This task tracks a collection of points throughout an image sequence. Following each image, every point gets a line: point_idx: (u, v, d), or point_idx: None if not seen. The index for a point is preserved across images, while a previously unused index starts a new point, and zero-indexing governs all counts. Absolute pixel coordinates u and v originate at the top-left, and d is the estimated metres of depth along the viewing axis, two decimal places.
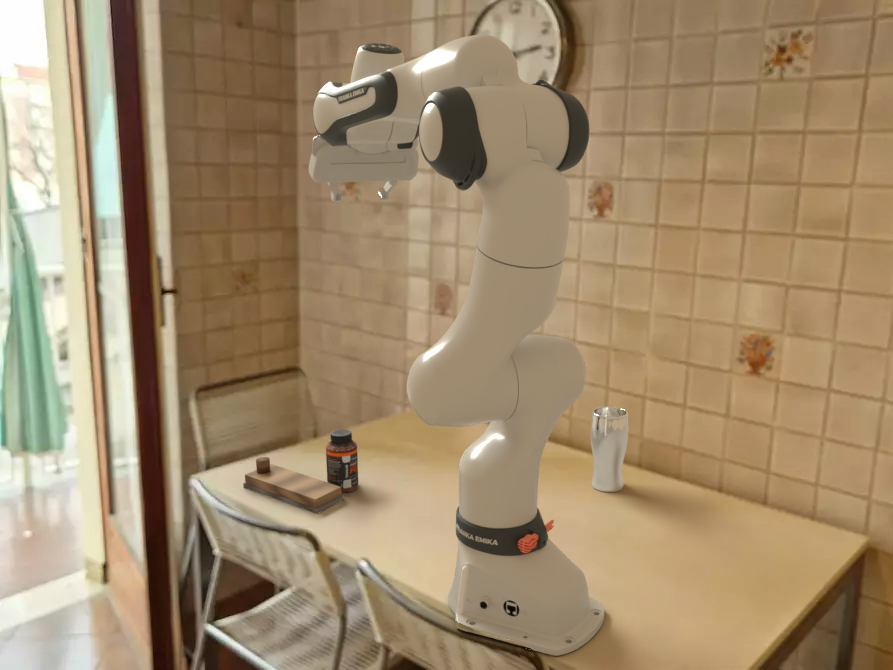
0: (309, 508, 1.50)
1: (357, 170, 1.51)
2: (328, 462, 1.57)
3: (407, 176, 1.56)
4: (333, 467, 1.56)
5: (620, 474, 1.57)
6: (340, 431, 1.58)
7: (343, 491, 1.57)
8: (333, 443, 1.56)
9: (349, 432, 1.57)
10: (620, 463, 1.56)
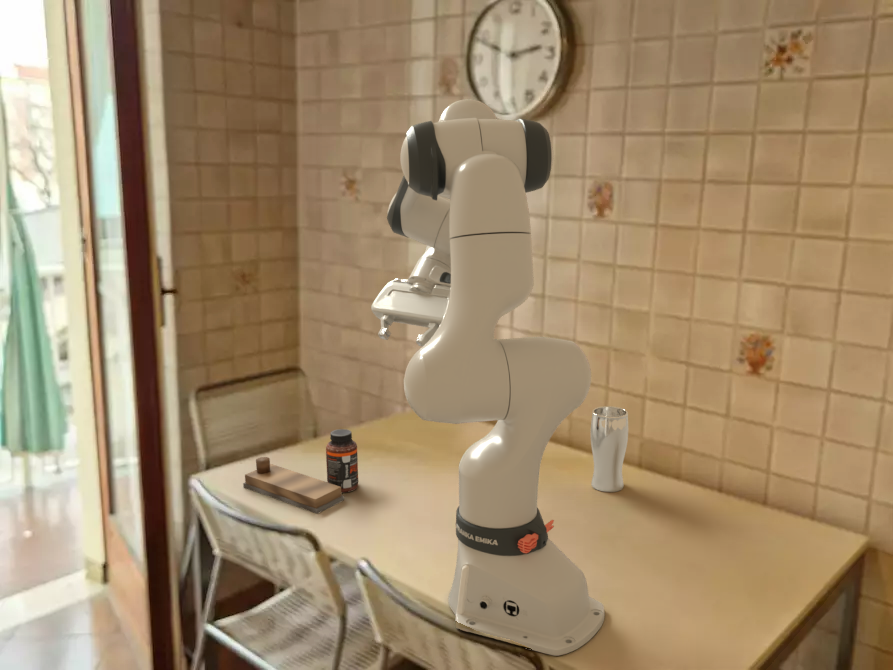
0: (309, 508, 1.50)
1: (405, 303, 1.61)
2: (328, 462, 1.57)
3: (443, 316, 1.55)
4: (333, 467, 1.56)
5: (620, 474, 1.57)
6: (340, 431, 1.58)
7: (343, 491, 1.57)
8: (333, 443, 1.56)
9: (349, 432, 1.57)
10: (620, 463, 1.56)
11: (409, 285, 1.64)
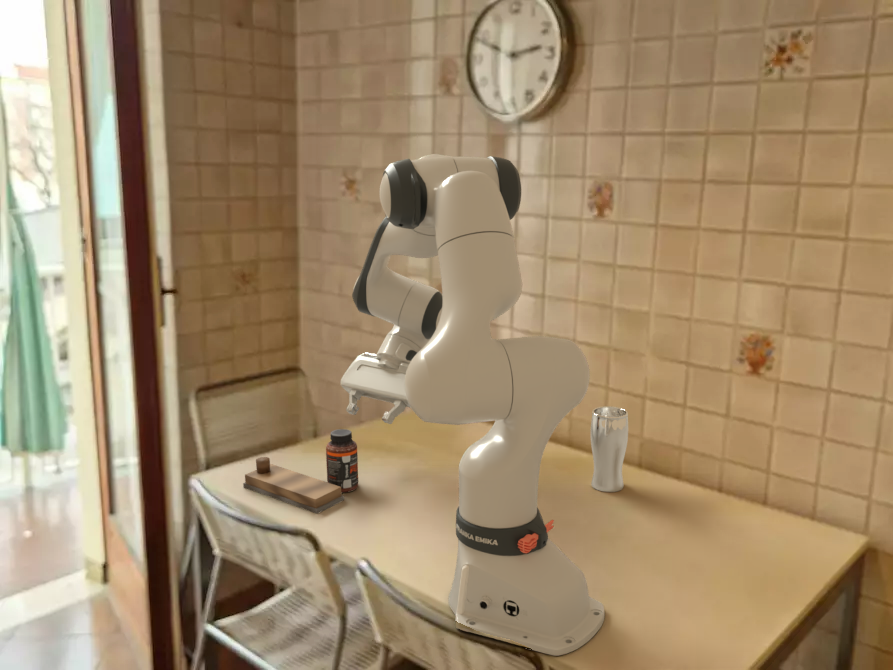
0: (309, 508, 1.50)
1: (373, 379, 1.65)
2: (328, 462, 1.57)
3: None
4: (333, 467, 1.56)
5: (620, 474, 1.57)
6: (340, 431, 1.58)
7: (343, 491, 1.57)
8: (333, 443, 1.56)
9: (349, 432, 1.57)
10: (620, 463, 1.56)
11: (377, 360, 1.68)
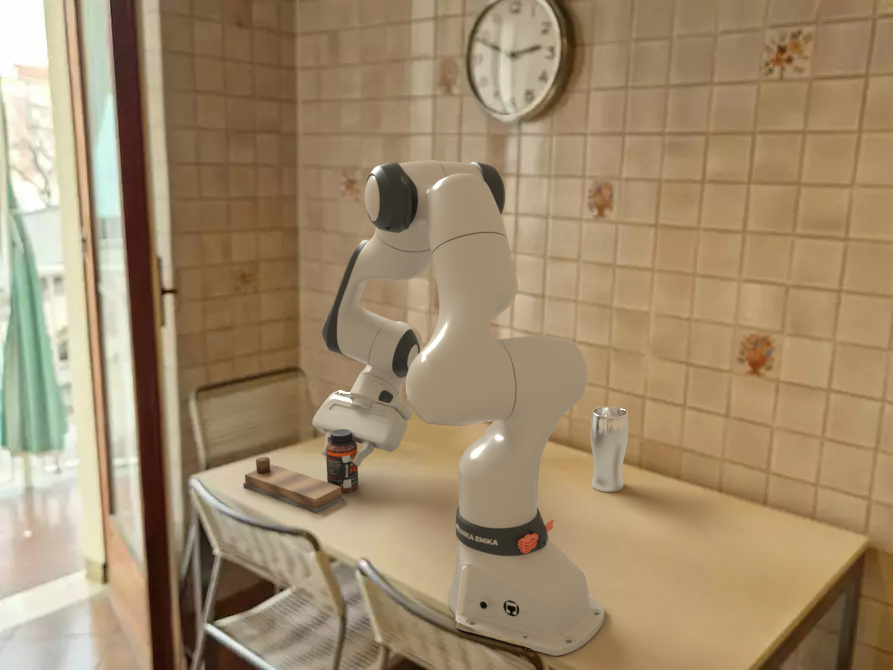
0: (309, 508, 1.50)
1: (345, 420, 1.61)
2: (328, 462, 1.57)
3: (380, 438, 1.54)
4: (333, 467, 1.56)
5: (620, 474, 1.57)
6: (340, 431, 1.58)
7: (343, 491, 1.57)
8: (333, 443, 1.56)
9: (349, 432, 1.57)
10: (620, 463, 1.56)
11: (350, 400, 1.63)
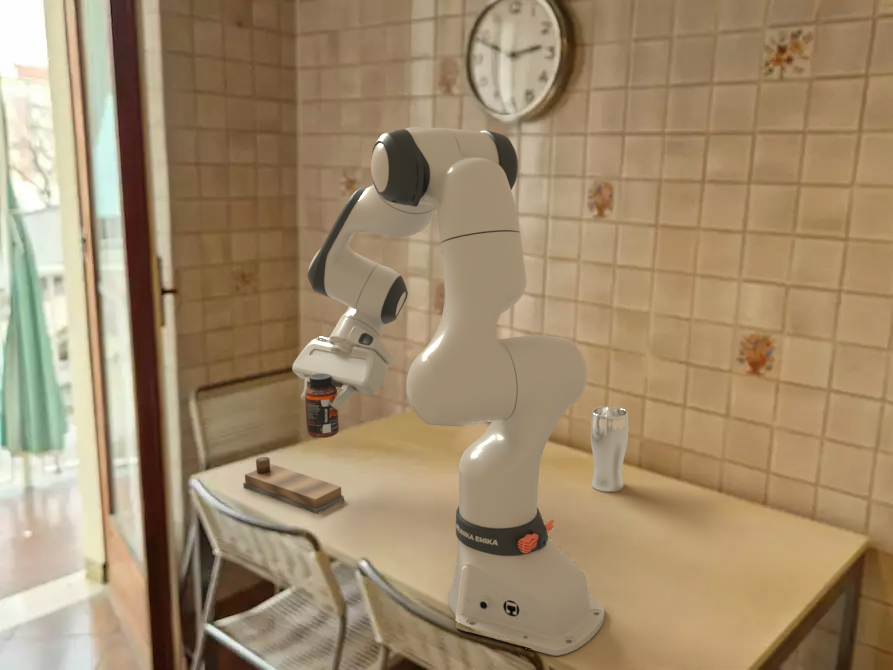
0: (309, 508, 1.50)
1: (325, 364, 1.57)
2: (307, 406, 1.54)
3: (359, 380, 1.51)
4: (312, 411, 1.53)
5: (620, 474, 1.57)
6: (319, 375, 1.54)
7: (322, 436, 1.54)
8: (312, 387, 1.53)
9: (329, 375, 1.54)
10: (620, 463, 1.56)
11: (330, 344, 1.60)
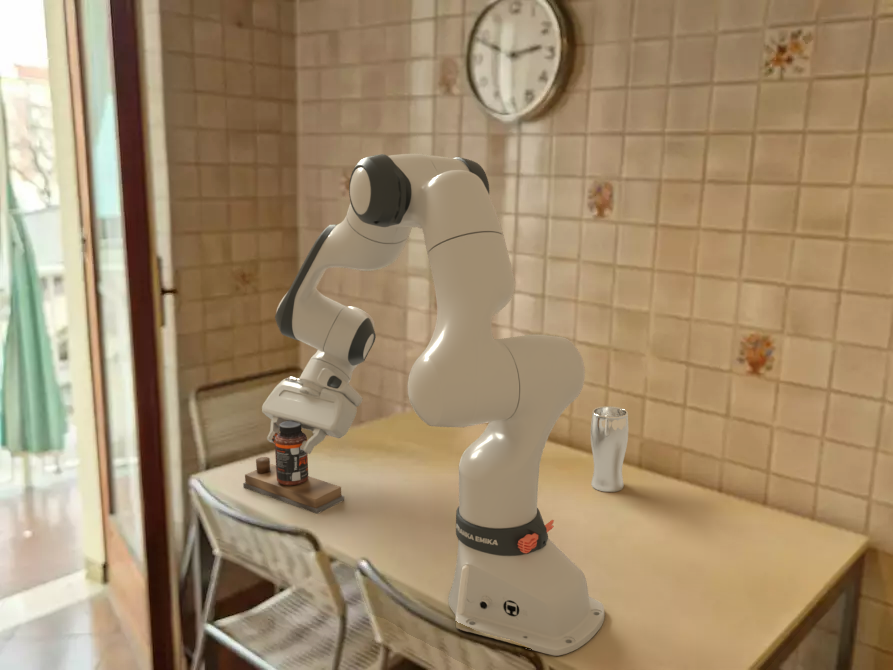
0: (309, 508, 1.50)
1: (294, 406, 1.57)
2: (277, 454, 1.54)
3: (328, 424, 1.51)
4: (281, 459, 1.53)
5: (620, 474, 1.57)
6: (289, 423, 1.55)
7: (292, 484, 1.54)
8: (282, 435, 1.53)
9: (299, 423, 1.54)
10: (620, 463, 1.56)
11: (299, 386, 1.60)
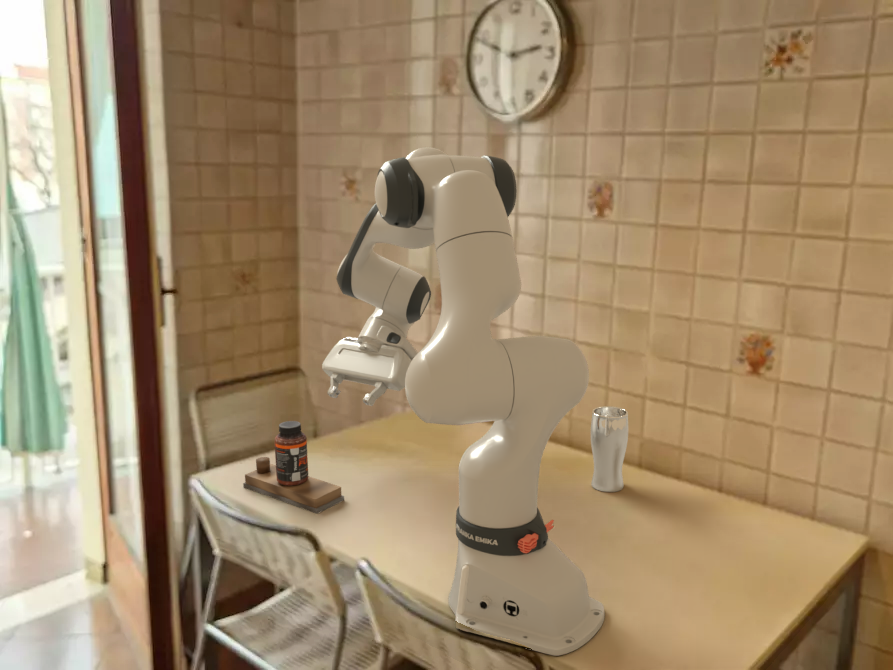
0: (309, 508, 1.50)
1: (354, 362, 1.66)
2: (276, 454, 1.54)
3: (389, 376, 1.59)
4: (281, 460, 1.53)
5: (620, 474, 1.57)
6: (289, 423, 1.55)
7: (292, 484, 1.54)
8: (281, 435, 1.53)
9: (298, 424, 1.54)
10: (620, 463, 1.56)
11: (358, 344, 1.68)
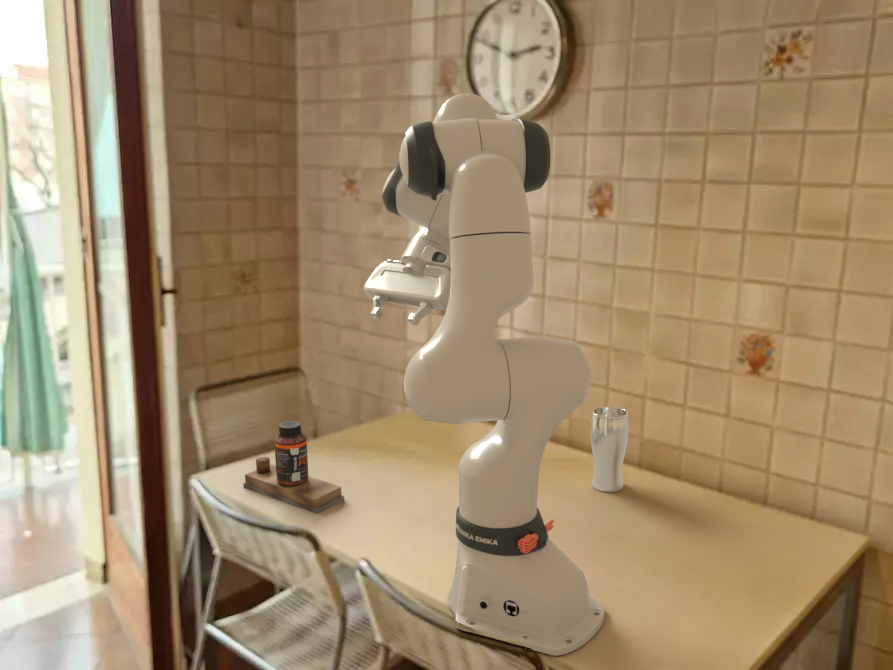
0: (309, 508, 1.50)
1: (397, 283, 1.62)
2: (276, 454, 1.54)
3: (434, 295, 1.55)
4: (281, 460, 1.53)
5: (620, 474, 1.57)
6: (289, 423, 1.55)
7: (292, 484, 1.54)
8: (281, 435, 1.53)
9: (298, 424, 1.54)
10: (620, 463, 1.56)
11: (401, 265, 1.64)
